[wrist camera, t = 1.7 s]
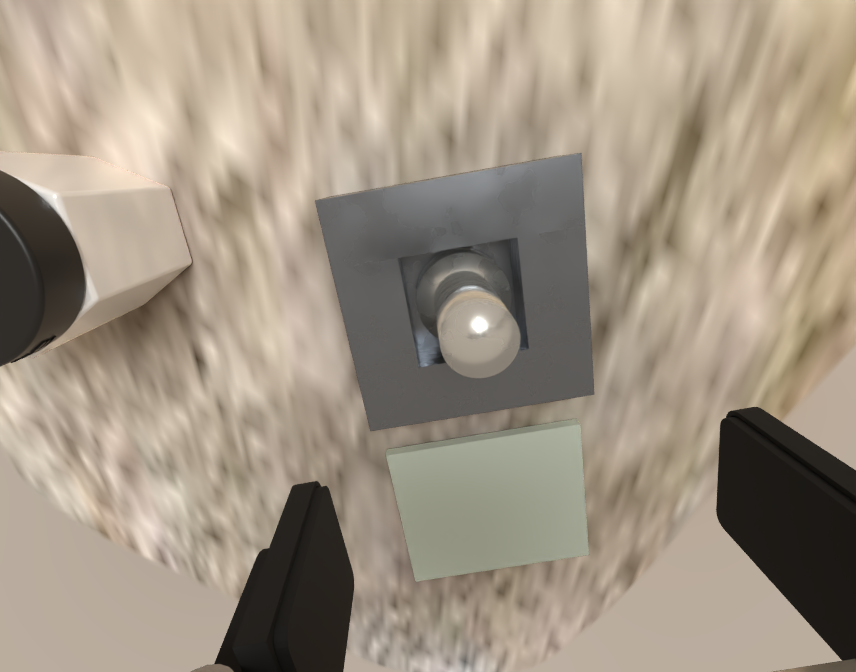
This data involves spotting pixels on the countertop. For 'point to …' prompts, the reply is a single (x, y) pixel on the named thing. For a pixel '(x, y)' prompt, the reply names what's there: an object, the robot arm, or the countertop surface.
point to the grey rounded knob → (469, 312)
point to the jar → (78, 247)
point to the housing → (475, 229)
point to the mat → (492, 499)
